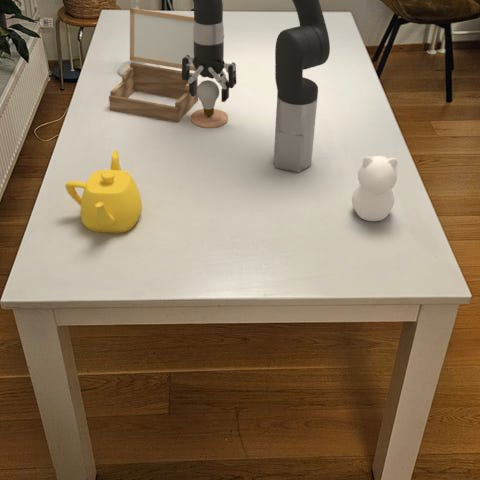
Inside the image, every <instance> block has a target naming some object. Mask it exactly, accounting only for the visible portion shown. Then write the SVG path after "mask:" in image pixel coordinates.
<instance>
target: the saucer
mask: <svg viewBox="0 0 480 480" xmlns="http://www.w3.org/2000/svg"><path fill="white" fill-rule="evenodd" d="M189 118H190V121H191V124H193V125H195V126H196V127H199V128H204V129H215V128H219V127H222V126H224V125H225V124H227V123H228V121H229V115H228V114H227V113H226V112H225V111H223V110H221V109H218V108H217V109H216V108H214V114H213V115H211V116H210V117H208V116H206V115H204V109H203V108H202V109H197V110H195V111H193V113H191V114H190V117H189Z"/></svg>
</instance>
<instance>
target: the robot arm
mask: <svg viewBox="0 0 480 480" xmlns="http://www.w3.org/2000/svg"><path fill="white" fill-rule="evenodd" d="M291 1H292V3H293V5H294V8H295V9H296V14H297V17H298V23H299V26H296V27H290V28H286V29H284V30H282V31H280V33H279V34H278V36H277V37H276V42H275V49H274V50H275V51H274V52H275V53H274V55H275V56H274V58H275V61H274V62H275V63H274V64H275V65H274V66H275V67H274V68H275V70H274V71H275V72H274V75H275V76H274V77H275V78H274V79H275V84H276V91H277V92H276V93H277V95H276V96H277V97H276V98H277V99H276V108H275V109H276V111H275V126H274V127H275V131H274V132H275V133H274V149H273V150H274V151H273V163H274V164H275V165H274V167H275V168H276V169H281V170H286V171H289V172H290V171H291V172H296V173H301V171H302V170H306V169H308V168H309V167H310V166H311V165H312V161H313V160H312V159H313V151H314V150H313V149H314V140H315V138H314V137H315V131H316V130H315V126H316V117H317V107H318V96H319V86H318V84H317V83H316V82H315V81H313V80H312V79H309V78H306V77H303V74H304V73H303V72H304V70H308V69H311V68H315V67H318V66H321V65H324V64H325V63H327V61H328V59H329V57H330V54H331V53H330V51H331V48H330V47H331V46H330V45H331V44H330V36H329V32H328V28H327V24H326V20H325V17H324V13H323V10H322V6H321V2H320V0H291ZM192 2H193V17H194V27H193V41H194V58H191V57H190V56H189V55H186V56H185V57H184V58H183V59H182V69H181V71H182V79H183V80H187V81H188V82H189V93H190V94H191V96H193V97H194V96H195V95H196V94H197V81H195V79H196V78H198V77H199V76H201V77H202V78H209V79H212V80H214V79H215V81H216V82H217V83H219V86H221V101H220V102H222V103H225V102H226V101H227V100H229V97H230V89H233V88H234V87H235V86H236V85H237V68H236V67H237V66H236V62H231V63H226V62H225V60H224V57H225V56H224V54H225V53H224V50H225V49H224V47H225V45H224V43H225V41H224V39H225V34H224V33H225V31H224V21H223V20H224V19H223V17H224V16H223V15H224V11H223V10H224V7H223V6H224V4H223V0H192ZM192 63H193V65H194V66H195V68H196V71H193V73H194V74H193V75H190V73H191V70H190V65H191V64H192ZM224 69H225V70H226V74H227V75H226V74H225V72H224V71H223V70H224ZM227 76H228V78H227Z"/></svg>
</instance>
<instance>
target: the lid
mask: <svg viewBox="0 0 480 480" xmlns="http://www.w3.org/2000/svg"><path fill="white" fill-rule="evenodd" d="M193 27H194V16H190V15H183V14H182V15H181V14H177V13H170V12H169V13H168V12H161V11H157V10H154V11H153V10H150V9H149V10H148V9H143V8H142V9H141V8H139V9H136V8H131V7H130V8H129V61H130V60H132V61H138V62H144V63H149V64H155V65H159V66H160V67H161V66H162V67H168V68H175V69H180V70H182V59H183V58H184V57H185V56H186V55H189V56H190V57H191V58H194V41H193ZM191 71H192V72H195V71H196V68H195V66H194V65H193V63H192V64H191V65H190V72H191Z"/></svg>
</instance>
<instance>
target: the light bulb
mask: <svg viewBox="0 0 480 480" xmlns="http://www.w3.org/2000/svg"><path fill="white" fill-rule="evenodd" d="M197 96H198V101H200V103H201V106H202V107H203V108H202V109H204V115H206V116H208V117H210V116H211V115H213V114H214V109H215V105H216V103H217V102H216V101H217V99H218V98H219V96H220V88H219V85H218V84H217V83H216V82H215V81H212V80H208V79H207V80H203V81H201V82H200V83H199V84H198V88H197Z"/></svg>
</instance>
